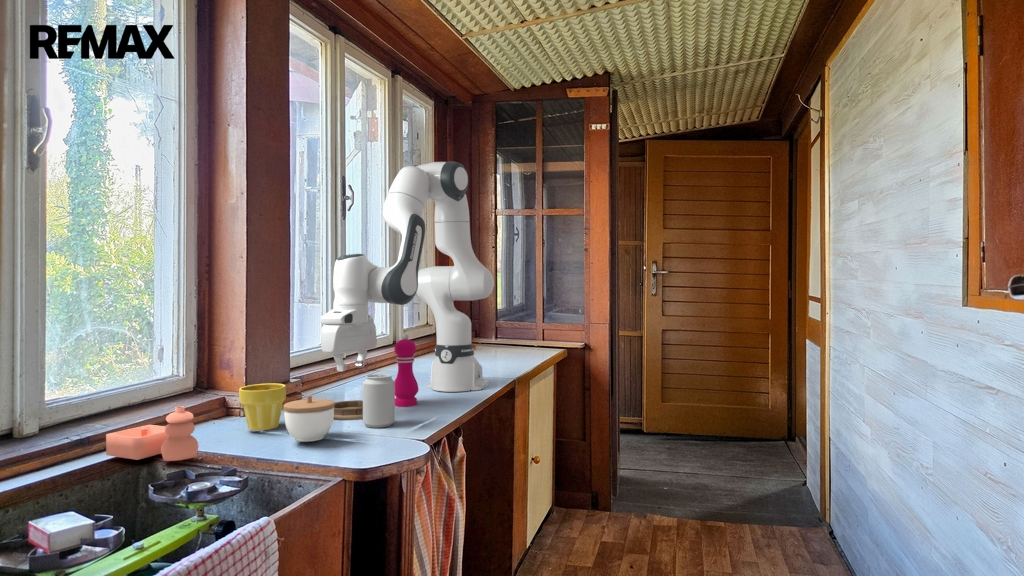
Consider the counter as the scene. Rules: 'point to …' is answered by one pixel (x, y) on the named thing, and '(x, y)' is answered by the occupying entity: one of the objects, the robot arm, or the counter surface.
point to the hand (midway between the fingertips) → (350, 369)
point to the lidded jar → (309, 418)
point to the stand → (348, 410)
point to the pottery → (156, 439)
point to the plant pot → (262, 405)
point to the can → (378, 401)
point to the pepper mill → (405, 373)
